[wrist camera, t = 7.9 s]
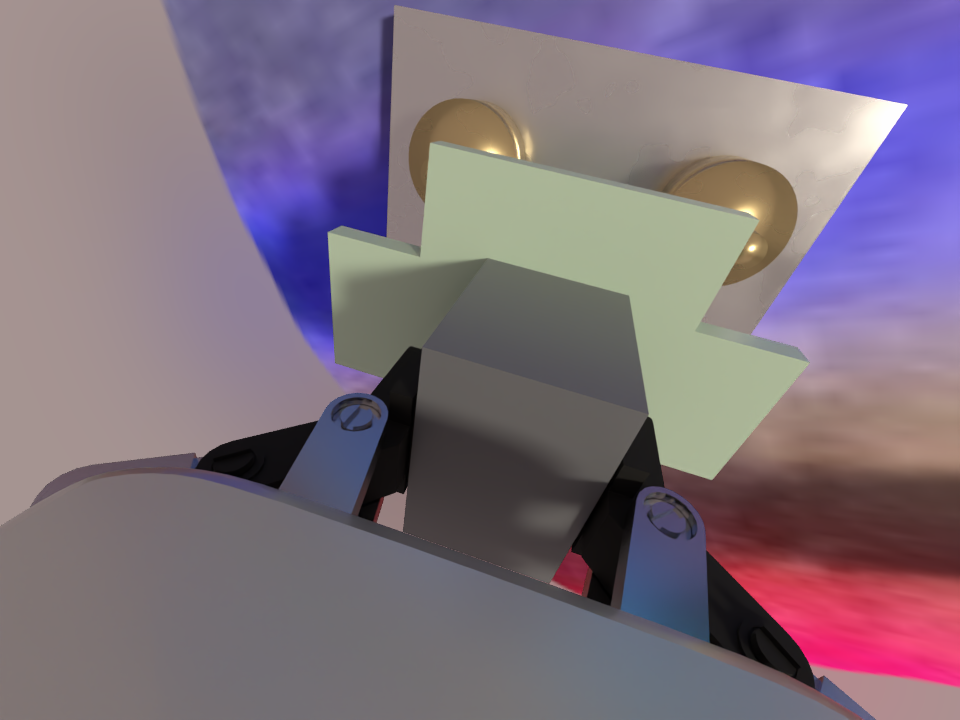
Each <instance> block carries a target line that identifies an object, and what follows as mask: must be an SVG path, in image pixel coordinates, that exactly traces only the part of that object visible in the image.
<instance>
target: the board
mask: <svg viewBox="0 0 960 720" xmlns="http://www.w3.org/2000/svg"><path fill="white" fill-rule="evenodd" d="M759 221H760V220H758V219H757V218H755V217H754V216H753V215H751V214H750V213H747V212H743V211H739V210H735V209H730V208H726V207H722V206H718V205H713V204H709V203H705V202H700V201H696V200H692V199H688V198H683V197H679V196H675V195H671V194H666V193H662V192H658V191H653V190H649V189H645V188H641V187H636V186H632V185H628V184H623V183H619V182H615V181H611V180H606V179H602V178H598V177H594V176H589V175H585V174H581V173H576V172H572V171H568V170H564V169H559V168H555V167H551V166H547V165H542V164H538V163H534V162H529V161H525V160H521V159H517V158H512V157H508V156H504V155H500V154H495V153H491V152H487V151H482V150H478V149H474V148H470V147H465V146H461V145H457V144H453V143H448V142H444V141H437V142H432V143H430V149H429V161H428V172H427V184H426V196H425V207H424V219H423V230H422V242H421V247H420V246H416V245H413V244H409V243H405V242H401V241H398V240H394V239H390V238H386V237H383V236H379V235H375V234H371V233H368V232H364V231H360V230H356V229H353V228H349V227H345V226H340V227H338V228H336V229H333V230H331V231H329V232H328V246H329V264H330V282H331V300H332V318H333V335H334V353H335V363H336V364H340V365H343V366H346V367H349V368H352V369H356V370H359V371H362V372H365V373H368V374H372V375H375V376H378V377H381V378H384V377H385V376H386V375H387V373H388V372H389V371H390V370H391V368H392V367H393V366H394V365H395V363H396V362H397V361H398V360H399V358H400V357H401V356H402V355H403V353H404V352H405V351H406V350H407V349H408V348H409V347H410V346H413V347H416V348H420V349H421V348H422V354H421V364H420V373H419V383H418V392H417V402H416V412H415V421H414V431H413V440H412V450H411V460H410V469H409V479H408V488H407V498H406V508H405V517H404V527H403V532H405V533H408V534H411V535H413V536H416V537H419V538H422V539H425V540H428V541H430V542H433V543H436V544H439V545H442V546H444V547H447V548H450V549H453V550H456V551H458V552H461V553H464V554H467V555H470V556H473V557H475V558H478V559H481V560H484V561H487V562H489V563H492V564H495V565H498V566H501V567H504V568H506V569H509V570H512V571H515V572H518V573H520V574H523V575H526V576H529V577H532V578H534V579H537V580H540V581H543V582H546V583H550V581H551V580H552V578H553V576H554V575H555V573H556V571H557V570H558V568H559V566H560V564H561V563H562V561H563V559H564V558H565V556H566V554H567V553H568V551H569V549H570V547H571V546H572V544H573V542H574V541H575V539H576V537H577V536H578V534H579V532H580V530H581V529H582V527H583V525H584V524H585V522H586V520H587V519H588V517H589V515H590V513H591V512H592V510H593V508H594V507H595V505H596V503H597V502H598V500H599V498H600V496H601V495H602V493H603V491H604V490H605V488H606V486H607V485H608V483H609V481H610V479H611V478H612V476H613V474H614V473H615V471H616V469H617V468H618V466H619V464H620V462H621V461H622V459H623V457H624V456H625V454H626V452H627V451H628V449H629V447H630V446H631V444H632V442H633V440H634V439H635V437H636V435H637V434H638V432H639V430H640V429H641V427H642V425H643V423H644V422H645V420H646V418H647V417H650V418H651V419H652V421H653V424H654V430H655V436H656V442H657V447H658V453H659V459H660V464H662V465H665V466H668V467H671V468H674V469H678V470H681V471H684V472H687V473H690V474H694V475H697V476H700V477H703V478H707V479H710V480H713V478H714V477H715V476H716V475H717V474H718V472H719V471H720V470H721V469H722V468H723V466H724V465H725V464H726V463H727V462H728V460H729V459H730V458H731V457H732V456H733V454H734V453H735V452H736V451H737V450H738V448H739V447H740V446H741V445H742V444H743V442H744V441H745V440H746V439H747V438H748V436H749V435H750V434H751V433H752V432H753V430H754V429H755V428H756V427H757V426H758V424H759V423H760V422H761V421H762V420H763V418H764V417H765V416H766V415H767V414H768V412H769V411H770V410H771V409H772V408H773V406H774V405H775V404H776V403H777V402H778V400H779V399H780V398H781V397H782V396H783V394H784V393H785V392H786V391H787V390H788V388H789V387H790V386H791V385H792V384H793V382H794V381H795V380H796V379H797V378H798V376H799V375H800V374H801V373H802V372H803V370H804V369H805V368H806V367H807V366H808V364H809V363H810V362H809V361H808V360H807V358H806V357H805V356H804V355H803V354H802V352H801V351H800V350H799V349H798V348H797V347H794V346H790V345H787V344H783V343H779V342H775V341H772V340H768V339H764V338H760V337H757V336H753V335H749V334H745V333H742V332H738V331H734V330H730V329H727V328H723V327H719V326H715V325H712V324H708V323H704V322H701V320H702V318H703V317H704V315H705V313H706V312H707V310H708V308H709V306H710V305H711V303H712V301H713V300H714V298H715V296H716V294H717V293H718V291H719V289H720V288H721V286H722V284H723V282H724V281H725V279H726V277H727V276H728V274H729V272H730V270H731V269H732V267H733V265H734V264H735V262H736V260H737V258H738V257H739V255H740V253H741V252H742V250H743V248H744V246H745V245H746V243H747V241H748V240H749V238H750V236H751V234H752V233H753V231H754V229H755V228H756V226H757V224H758V223H759Z"/></svg>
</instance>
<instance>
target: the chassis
mask: <svg viewBox="0 0 960 720" xmlns="http://www.w3.org/2000/svg"><path fill="white" fill-rule="evenodd" d="M906 107H907V105H906V104H901V103H896V102H890V101H885V100H880V99H875V98H870V97H865V96H860V95H854V94H849V93H844V92H839V91H834V90H829V89H823V88H818V87H813V86H808V85H803V84H798V83H793V82H787V81H782V80H777V79H772V78H767V77H762V76H757V75H751V74H746V73H741V72H736V71H731V70H726V69H721V68H715V67H710V66H705V65H700V64H695V63H690V62H685V61H679V60H674V59H669V58H664V57H659V56H654V55H649V54H643V53H638V52H633V51H628V50H623V49H618V48H612V47H607V46H602V45H597V44H592V43H587V42H582V41H576V40H571V39H566V38H561V37H556V36H551V35H546V34H540V33H535V32H530V31H525V30H520V29H515V28H510V27H504V26H499V25H494V24H489V23H484V22H479V21H474V20H468V19H463V18H458V17H453V16H448V15H443V14H438V13H432V12H427V11H422V10H417V9H412V8H407V7H402V6H396V5H394V32H393V62H392V92H391V121H390V151H389V181H388V211H387V238H390V239H394V240H398V241H401V242H405V243H409V244H413V245H416V246H420V247H421V242H422V230H423V219H424V207H425V196H426V184H427V172H428V161H429V149H430V143H432V142H437V141H444V142H448V143H453V144H457V145H461V146H465V147H470V148H474V149H478V150H482V151H487V152H491V153H495V154H500V155H504V156H508V157H512V158H517V159H521V160H525V161H529V162H534V163H538V164H542V165H547V166H551V167H555V168H559V169H564V170H568V171H572V172H576V173H581V174H585V175H589V176H594V177H598V178H602V179H606V180H611V181H615V182H619V183H623V184H628V185H632V186H636V187H641V188H645V189H649V190H653V191H658V192H662V193H666V194H671V195H675V196H679V197H683V198H688V199H692V200H696V201H700V202H705V203H709V204H713V205H718V206H722V207H726V208H730V209H735V210H739V211H743V212H747V213H750V214H751V215H753V216H754V217H755V218H757V219H758V220H760V221H759V223H758V224H757V226H756V228H755V229H754V231H753V233H752V234H751V236H750V238H749V240H748V241H747V243H746V245H745V246H744V248H743V250H742V252H741V253H740V255H739V257H738V258H737V260H736V262H735V264H734V265H733V267H732V269H731V270H730V272H729V274H728V276H727V277H726V279H725V281H724V282H723V284H722V286H721V288H720V289H719V291H718V293H717V294H716V296H715V298H714V300H713V301H712V303H711V305H710V306H709V308H708V310H707V312H706V313H705V315H704V317H703V318H702V320H701V322H704V323H708V324H712V325H715V326H719V327H723V328H727V329H730V330H734V331H738V332H742V333H745V334H749V335H751V333H752V332H753V330H754V329H755V327H756V326H757V324H758V323H759V322H760V320H761V319H762V317H763V316H764V314H765V313H766V311H767V310H768V308H769V307H770V306H771V304H772V303H773V301H774V300H775V298H776V297H777V295H778V294H779V292H780V291H781V289H782V288H783V287H784V285H785V284H786V282H787V281H788V279H789V278H790V276H791V275H792V273H793V272H794V270H795V269H796V268H797V266H798V265H799V263H800V262H801V260H802V259H803V257H804V256H805V254H806V253H807V251H808V250H809V249H810V247H811V246H812V244H813V243H814V241H815V240H816V238H817V237H818V235H819V234H820V233H821V231H822V230H823V228H824V227H825V225H826V224H827V222H828V221H829V219H830V218H831V216H832V215H833V214H834V212H835V211H836V209H837V208H838V206H839V205H840V203H841V202H842V200H843V199H844V197H845V196H846V195H847V193H848V192H849V190H850V189H851V187H852V186H853V184H854V183H855V181H856V180H857V178H858V177H859V176H860V174H861V173H862V171H863V170H864V168H865V167H866V165H867V164H868V162H869V161H870V160H871V158H872V157H873V155H874V154H875V152H876V151H877V149H878V148H879V146H880V145H881V143H882V142H883V141H884V139H885V138H886V136H887V135H888V133H889V132H890V130H891V129H892V127H893V126H894V124H895V123H896V122H897V120H898V119H899V117H900V116H901V114H902V113H903V111H904V110H905V108H906Z"/></svg>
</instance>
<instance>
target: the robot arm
mask: <svg viewBox="0 0 960 720" xmlns="http://www.w3.org/2000/svg"><path fill="white" fill-rule="evenodd" d="M421 354H422V348H421V349H420V348H416V347H413V346H410V347H409V348H408V349H407V350H406V351H405V352H404V353H403V355H402V356H401V357H400V358H399V360H398V361H397V362H396V363H395V365H394V366H393V367H392V368H391V370H390V371H389V372H388V373H387V375H386V376H385V377H384V378H383V380H382V381H381V382H380V383H379V385H378V386H377V387H376V388H375V390H374V391H373V392H372V393H371V395H369V394H364V393H353V394H346V395H344V396H341V397H338V398H337V399H335V400H333V401H332V402H331V403H330V404H329V405H328V406H327V407H326V409H325V410H324V412H323V414H322V416H321V417H320V419H319V421H315V422H310V423H306V424H302V425H298V426H294V427H289V428H286V429H281V430H277V431H273V432H269V433H264V434H260V435H256V436H252V437H248V438H243V439H239V440H235V441H231V442H228V443H225V444H222V445H220V446H218V447H216V448H215V449H213V450H211V451H209V453H207V454H206V455H205V456H204V457H199V458H197V457H196V454H195V453H190V454H180V455H172V456H164V457H155V458H146V459H138V460H130V461H121V462H112V463H103V464H95V465H89V466H85V467H81V468H76V469H75V470H72V471H69V472H67V473H65V474H62V475H60V476H59V477H57V478H56V479H54V480H53V481H52V482H50V483H49V484H47V485H46V486H45V487H44V489H43V490H42V491H41V492H40V493H39V494H38V495H37V497H36V498H35V500H34V502H33V503H32V505H31V506H30V508H29V509H27V510H25V511H24V512H22V513H21V514H19V515H17V516H16V517H14V518H13V519H11V520H9V521H7V522H6V523H5V524H3V525H1V526H0V720H876V719H875V718H873V717H872V716H871V715H870V714H869V713H868V712H866V711H865V710H864V709H863V708H862V707H861V706H859V705H858V704H857V703H856V702H855V701H853V700H852V699H851V698H850V697H849V696H848V695H846V694H845V693H844V692H843V691H842V690H840V689H839V688H838V687H837V686H836V685H835V684H833V683H832V682H831V681H830V680H829V679H828V678H826V677H825V676H822V677H820V678H816V677H815V676H814V675H813V673H812V670H811V668H810V665H809V662H808V661H807V659H806V657H805V656H804V654H803V652H802V651H801V649H800V647H799V646H798V645H797V644H796V642H795V641H794V640H793V639H792V638H791V637H790V635H789V634H788V633H787V632H786V631H785V630H784V629H783V628H782V627H781V626H780V625H779V624H778V623H777V622H776V621H775V620H774V619H773V618H772V617H771V616H770V615H769V614H768V613H767V612H766V611H765V610H764V609H763V608H762V607H761V606H760V605H759V604H758V602H757V601H756V600H755V599H754V598H753V597H752V596H751V595H750V594H749V593H748V592H747V591H746V590H745V589H744V588H743V587H742V586H741V585H740V584H739V583H738V582H737V581H736V580H735V579H734V578H733V577H732V576H731V575H730V574H729V573H728V572H727V571H726V570H725V569H724V568H723V567H722V566H721V565H720V564H719V563H718V562H717V561H716V560H715V559H714V558H713V557H712V556H711V555H710V554H709V553H708V552H707V551H706V536H705V528H704V523H703V521H702V519H701V517H700V515H699V513H698V512H697V511H696V510H695V508H694V507H693V506H692V505H691V504H690V503H689V502H688V501H687V500H685V499H684V498H683V497H682V496H680V495H678V494H677V493H675V492H673V491H672V490H669V489H666V488H664V482H663V476H662V470H661V465H660V459H659V453H658V447H657V442H656V436H655V430H654V424H653V421H652V419H651V418H650V417H647V418H646V420H645V422H644V423H643V425H642V427H641V429H640V430H639V432H638V434H637V435H636V437H635V439H634V440H633V442H632V444H631V446H630V447H629V449H628V451H627V452H626V454H625V456H624V457H623V459H622V461H621V462H620V464H619V466H618V468H617V469H616V471H615V473H614V474H613V476H612V478H611V479H610V481H609V483H608V485H607V486H606V488H605V490H604V491H603V493H602V495H601V496H600V498H599V500H598V502H597V503H596V505H595V507H594V508H593V510H592V512H591V513H590V515H589V517H588V519H587V520H586V522H585V524H584V525H583V527H582V529H581V530H580V532H579V534H578V536H577V537H576V539H575V541H574V542H573V544H572V552H573V553H576V554H579V555H582V558H583V559H584V561H585V562H586V563H587V565H588V566H589V569H588V571H587V575H586V579H585V583H584V588H583V592H582V596H580V595H578V594H575V593H572V592H569V591H566V590H564V589H561V588H558V587H555V586H553V585H550V584H547V583H544V582H541V581H539V580H536V579H533V578H530V577H527V576H525V575H522V574H519V573H516V572H513V571H511V570H508V569H505V568H502V567H499V566H497V565H494V564H491V563H488V562H485V561H483V560H480V559H477V558H474V557H471V556H469V555H466V554H463V553H460V552H457V551H454V550H452V549H449V548H446V547H443V546H440V545H438V544H435V543H432V542H429V541H426V540H423V539H421V538H418V537H415V536H412V535H409V534H406V533H403V532H400V531H398V530H395V529H392V528H389V527H386V526H383V525H380V524H378V523H377V519H378V516H379V513H380V510H381V506H382V503H383V500H384V497H385V496H387V495H390V494H393V493H395V492H399V493H402V494H404V492H405V490H406V488H407V486H408V479H409V469H410V460H411V450H412V440H413V431H414V421H415V412H416V402H417V392H418V383H419V373H420V364H421Z"/></svg>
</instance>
